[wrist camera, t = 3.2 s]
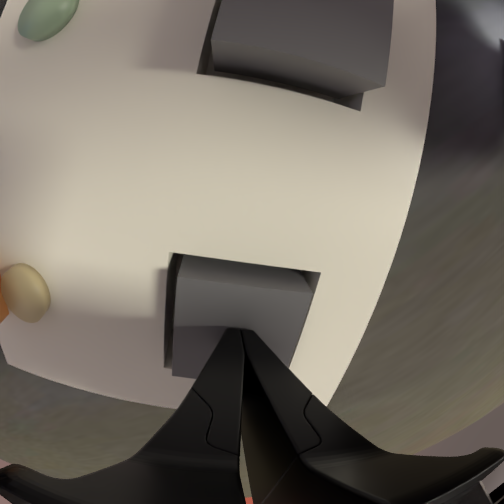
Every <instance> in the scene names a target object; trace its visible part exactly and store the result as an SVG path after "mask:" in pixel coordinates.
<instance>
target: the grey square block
mask: <svg viewBox="0 0 504 504" xmlns="http://www.w3.org/2000/svg"><path fill="white" fill-rule="evenodd" d="M312 295H313V293H312V291H311V289H310V287H309V285H308V284H307V282H306V280H305V278H304V277H303V275H302V273H301V271H300V270H298V269H291V268H283V267H276V266H268V265H261V264H253V263H246V262H238V261H231V260H224V259H217V258H210V257H202V256H195V255H188V254H184V256H183V259H182V263H181V266H180V269H179V273H178V276H177V287H176V300H175V314H174V332H173V354H172V376H177V377H184V378H192V379H197V377H198V375H199V374H200V372H201V370H202V369H203V367H204V365H205V364H206V362H207V360H208V359H209V357H210V355H211V354H212V352H213V350H214V349H215V347H216V345H217V344H218V342H219V340H220V339H221V337H222V335H223V334H224V332H225V330H226V329H227V328H238V329H240V330H241V329H248V330H254V331H255V332H256V333H257V335H258V336H259V337H260V338H261V339H262V340H263V341H264V342H265V343H266V344H267V346H268V347H269V348H270V349H271V350H272V351H273V352H274V353H275V354H276V355H277V356H278V357H279V358H280V360H281V361H282V362H283V363H284V364H285V365H286V366H287V367H288V366H289V363H290V360H291V357H292V355H293V352H294V349H295V346H296V343H297V340H298V337H299V335H300V332H301V329H302V326H303V323H304V320H305V317H306V314H307V311H308V308H309V304H310V301H311V298H312Z"/></svg>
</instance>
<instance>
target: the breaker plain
mask: <svg viewBox="0 0 504 504" xmlns="http://www.w3.org/2000/svg"><path fill="white" fill-rule="evenodd" d="M393 8H394V0H222V2H221V5H220V8H219V12H218V15H217V19H216V22H215V26H214V30H213V34H212V37H211V45H212V54H213V63H214V71H218V72H225V73H231V74H238V75H243V76H249V77H254V78H259V79H264V80H269V81H273V82H278V83H282V84H286V85H290V86H294V87H298V88H302V89H306V90H310V91H313V92H317V93H320V94H323V95H327V96H330V97H333V98H336V99H340V98H344V97H347V96H351V95H354V94H358V93H362V92H365V91H369V90H373V89H377V88H381V87H385V85H386V78H387V70H388V62H389V54H390V45H391V35H392V23H393Z"/></svg>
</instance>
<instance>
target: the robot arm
mask: <svg viewBox="0 0 504 504" xmlns="http://www.w3.org/2000/svg"><path fill="white" fill-rule="evenodd" d="M241 435H242V441H243V448H244V454H245V460H246V466H247V471H248V477H249V483H250V488H251V494H252V499H253V504H504V483H502V484H501V485H500V486H499V487H497V488H496V489H495V490H494V491H492V492H491V493H490V494H488V492H487V490H486V488H485V487H484V485H483V483H482V481H481V480H483V479H484V478H485V477H486V476H487V475H489V474H490V473H491V472H492V471H493V470H494V469H495V468H496V467H498V466H499V465H500V464H501V463H502V462H503V461H504V450H502V449H499V448H488V447H487V448H486V447H485V448H481V449H479V450H478V451H476V452H474V453H472V454H469V455H465V456H458V457H436V456H416V455H404V454H395V453H390V452H387V451H384V450H382V449H380V448H378V447H377V446H375V445H374V444H372V443H371V442H370V441H368V440H367V439H366V438H364V437H363V436H362V435H360V434H359V433H358V432H356V431H355V430H354V429H352V428H351V427H350V426H348V425H347V424H346V423H345V422H343V421H342V420H341V419H340V418H339V417H337V416H336V415H335V414H334V413H333V412H332V411H330V410H329V409H328V408H327V407H326V406H325V405H324V404H323V403H322V402H321V401H320V400H319V399H318V398H317V397H316V396H315V395H312V392H311V391H310V390H309V389H308V388H307V387H306V386H305V385H304V384H303V383H302V382H301V381H300V380H299V379H298V378H297V376H296V375H295V374H294V373H293V372H292V371H291V370H290V369H289V368H288V367H287V366H286V365H285V364H284V363H283V362H282V361H281V360H280V358H279V357H278V356H277V355H276V354H275V353H274V352H273V351H272V350H271V349H270V348H269V347H268V346H267V344H266V343H265V342H264V341H263V340H262V339H261V338H260V337H259V336H258V335H257V333H256V332H255V331H254V330H248V329H241V330H240V329H238V328H227V329H226V330H225V332H224V334H223V335H222V337H221V339H220V340H219V342H218V344H217V345H216V347H215V349H214V350H213V352H212V354H211V355H210V357H209V359H208V360H207V362H206V364H205V365H204V367H203V369H202V370H201V372H200V374H199V375H198V377H197V379H196V380H195V382H194V384H193V385H192V387H191V389H190V390H189V392H188V393H187V395H186V396H185V398H184V399H183V401H182V402H181V404H180V405H179V407H178V408H177V409H176V411H175V412H174V413H173V414H172V416H171V417H170V418H169V419H168V420H167V421H166V423H165V424H164V425H163V426H162V427H161V428H160V429H159V430H158V431H157V432H156V434H155V435H154V436H153V437H152V438H151V439H150V440H149V441H148V442H147V443H146V444H145V445H144V446H143V447H142V448H141V449H140V450H139V451H138V452H137V453H136V454H135V455H133V456H132V457H131V458H129V459H127V460H125V461H123V462H120V463H118V464H115V465H113V466H110V467H107V468H105V469H102V470H99V471H96V472H93V473H90V474H87V475H84V476H81V477H78V478H73V479H58V478H52V477H49V476H46V475H44V474H41V473H39V472H37V471H35V470H32V469H30V468H28V467H25V466H22V465H19V464H11V465H9V466H6V467H4V468H1V469H0V495H1V496H3V497H4V498H5V499H7V500H8V501H9V502H11V503H12V504H246V501H245V497H244V493H243V488H242V483H241V479H240V471H239V461H240V458H239V457H240V441H241Z"/></svg>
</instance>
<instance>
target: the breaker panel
mask: <svg viewBox="0 0 504 504" xmlns="http://www.w3.org/2000/svg"><path fill="white" fill-rule="evenodd" d="M221 2H222V0H8V1H7V3H6V5H5V8H4V10H3V13H2V15H1V18H0V345H1V347H2V350H3V353H4V355H5V358H6V360H7V363H8V364H10V365H12V366H15V367H17V368H20V369H22V370H25V371H27V372H30V373H32V374H35V375H38V376H41V377H44V378H46V379H49V380H52V381H55V382H58V383H62V384H65V385H68V386H71V387H75V388H78V389H82V390H85V391H89V392H93V393H97V394H101V395H105V396H109V397H113V398H118V399H122V400H127V401H132V402H137V403H142V404H148V405H154V406H160V407H167V408H174V409H177V408H178V407H179V405H180V404H181V402H182V401H183V399H184V398H185V396H186V395H187V393H188V392H189V390H190V389H191V387H192V385H193V384H194V382H195V380H196V379H192V378H184V377H177V376H172V354H173V332H174V314H175V300H176V287H177V276H178V273H179V269H180V266H181V263H182V259H183V256H184V254H188V255H195V256H202V257H210V258H217V259H224V260H231V261H238V262H246V263H253V264H261V265H268V266H276V267H283V268H291V269H298V270H300V271H301V273H302V275H303V277H304V278H305V280H306V282H307V284H308V285H309V287H310V289H311V291H312V293H313V295H312V298H311V301H310V304H309V308H308V311H307V314H306V317H305V320H304V323H303V326H302V329H301V332H300V335H299V337H298V340H297V343H296V346H295V349H294V352H293V355H292V357H291V360H290V363H289V366H288V368H289V369H290V370H291V371H292V372H293V373H294V374H295V375H296V376H297V378H298V379H299V380H300V381H301V382H302V383H303V384H304V385H305V386H306V387H307V388H308V389H309V390H310V391H311V392H312V395H315V396H316V397H317V398H318V399H319V400H320V401H321V402H322V403H323V404H324V405H325V406H327V405H328V403H329V401H330V399H331V398H332V396H333V394H334V392H335V390H336V388H337V387H338V385H339V383H340V381H341V379H342V377H343V375H344V373H345V371H346V369H347V367H348V365H349V363H350V361H351V359H352V357H353V355H354V353H355V351H356V349H357V347H358V345H359V342H360V340H361V338H362V336H363V334H364V331H365V329H366V327H367V325H368V322H369V320H370V318H371V315H372V313H373V311H374V308H375V306H376V303H377V301H378V298H379V296H380V293H381V291H382V288H383V286H384V283H385V280H386V278H387V275H388V272H389V269H390V267H391V264H392V261H393V258H394V255H395V252H396V249H397V246H398V243H399V240H400V237H401V234H402V230H403V227H404V224H405V220H406V217H407V213H408V210H409V206H410V202H411V199H412V195H413V191H414V187H415V183H416V179H417V175H418V170H419V166H420V161H421V156H422V151H423V146H424V141H425V136H426V130H427V124H428V118H429V111H430V104H431V96H432V87H433V77H434V65H435V48H436V0H394V8H393V23H392V35H391V45H390V54H389V62H388V70H387V78H386V85H385V87H381V88H377V89H373V90H369V91H365V92H362V93H358V94H354V95H351V96H347V97H344V98H340V99H336V98H333V97H330V96H327V95H323V94H320V93H317V92H313V91H310V90H306V89H302V88H298V87H294V86H290V85H286V84H282V83H278V82H273V81H269V80H264V79H259V78H254V77H249V76H243V75H238V74H231V73H225V72H218V71H214V63H213V54H212V45H211V37H212V34H213V30H214V26H215V22H216V19H217V15H218V12H219V8H220V5H221Z"/></svg>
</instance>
